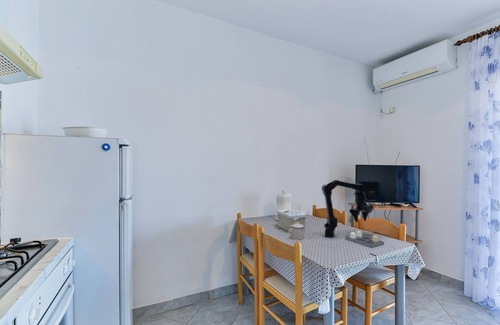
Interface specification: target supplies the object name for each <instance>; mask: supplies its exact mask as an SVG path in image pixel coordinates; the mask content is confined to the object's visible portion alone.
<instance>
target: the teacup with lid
mask: <svg viewBox="0 0 500 325" xmlns="http://www.w3.org/2000/svg"><path fill="white" fill-rule="evenodd" d="M291 230H292V232H290V231H291ZM304 231H305V230H304V226H303V225H301V224H299V222H297V223H296V224H294V225H292V229H290V230H289V232H288V234H289V235H290V236H291V237H292V239H294V240H303V239H304V238H305V232H304Z"/></svg>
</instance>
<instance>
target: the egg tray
mask: <svg viewBox="0 0 500 325" xmlns="http://www.w3.org/2000/svg"><path fill="white" fill-rule="evenodd" d="M345 241H348V242H352V243H355V244H357V245H361V246H363V247H367V248H369V249H373V248H376V247H380V246H383V245H385V241H384V240H380V239H379V243H376V242H373V241H372V237H370V236H366V235H364V234H362V237H360V238H359V237H356V239H352V238H350V235H348V236H345Z"/></svg>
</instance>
